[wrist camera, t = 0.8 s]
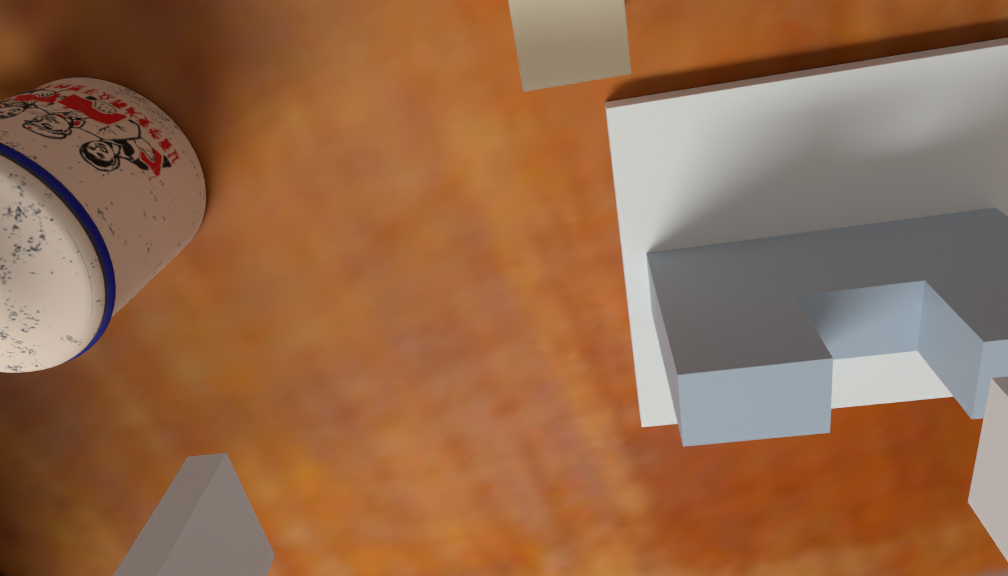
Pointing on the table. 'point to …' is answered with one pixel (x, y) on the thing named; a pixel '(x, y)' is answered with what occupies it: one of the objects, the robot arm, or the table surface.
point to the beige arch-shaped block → (569, 41)
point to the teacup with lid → (85, 213)
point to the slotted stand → (816, 241)
